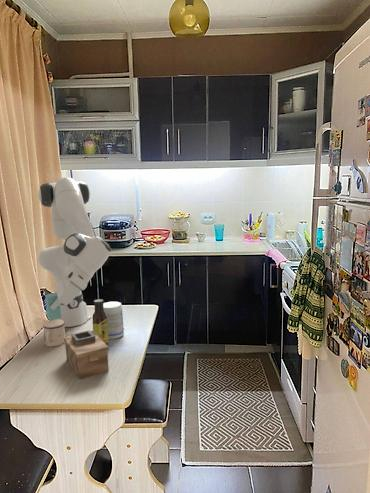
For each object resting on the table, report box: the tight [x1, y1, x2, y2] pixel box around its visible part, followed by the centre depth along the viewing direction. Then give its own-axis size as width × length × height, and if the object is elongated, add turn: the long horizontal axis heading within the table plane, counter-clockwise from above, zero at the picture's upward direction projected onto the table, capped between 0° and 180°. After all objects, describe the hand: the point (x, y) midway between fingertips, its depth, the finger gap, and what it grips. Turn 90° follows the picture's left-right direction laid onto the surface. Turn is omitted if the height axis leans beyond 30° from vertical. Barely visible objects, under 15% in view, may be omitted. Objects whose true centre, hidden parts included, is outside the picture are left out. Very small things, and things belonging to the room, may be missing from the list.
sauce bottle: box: [91, 298, 109, 346], centre depth 176 cm, size 6×6×20 cm
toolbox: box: [63, 329, 110, 380], centre depth 159 cm, size 19×12×12 cm, turn 30°
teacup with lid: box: [42, 319, 66, 347], centre depth 180 cm, size 12×9×12 cm
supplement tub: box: [103, 301, 125, 340], centre depth 187 cm, size 10×10×15 cm
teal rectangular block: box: [44, 292, 61, 321], centre depth 148 cm, size 4×4×8 cm
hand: (51, 306), depth 148 cm, fingers closed on teal rectangular block, 4 cm apart
